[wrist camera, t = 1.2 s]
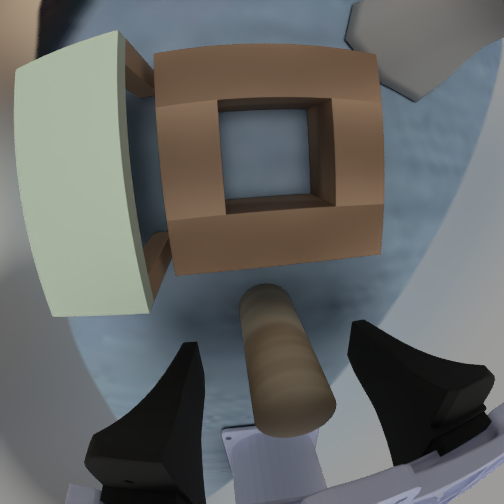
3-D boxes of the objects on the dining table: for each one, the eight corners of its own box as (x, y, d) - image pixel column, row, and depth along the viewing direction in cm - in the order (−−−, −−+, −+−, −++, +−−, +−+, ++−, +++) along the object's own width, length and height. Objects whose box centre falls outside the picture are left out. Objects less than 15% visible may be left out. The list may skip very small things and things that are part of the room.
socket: (350, 232, 16) (380, 254, 12) (184, 248, 15) (175, 275, 12) (344, 71, 13) (375, 54, 9) (168, 75, 12) (153, 53, 9)
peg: (290, 325, 17) (331, 429, 10) (241, 331, 17) (256, 442, 10) (290, 280, 16) (341, 380, 9) (236, 286, 16) (251, 395, 8)
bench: (175, 249, 15) (149, 313, 9) (106, 256, 15) (52, 316, 9) (158, 76, 12) (118, 30, 6) (87, 93, 12) (15, 69, 6)
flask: (374, -21, 10) (468, -90, 1) (453, 53, 12) (566, 35, 3) (321, 40, 12) (435, -52, 3) (417, 123, 14) (561, 129, 4)
